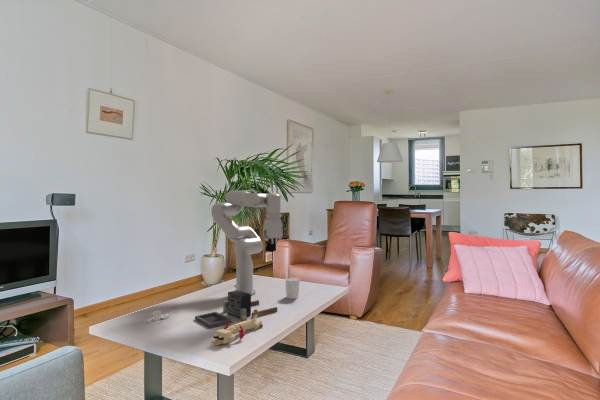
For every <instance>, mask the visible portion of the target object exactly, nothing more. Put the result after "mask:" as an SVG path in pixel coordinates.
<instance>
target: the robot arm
mask: <svg viewBox="0 0 600 400" xmlns="http://www.w3.org/2000/svg"><path fill="white" fill-rule="evenodd" d="M224 197H225V198H224V199H225V201H226V202H217V203H214V204H213V205H212V207H211V211H210V213H211V217H212V220H213V221H214V222H215V224H216V225H217V226H218V228H220V230H222V232H223V233H224V234H225V235H226V237H227V238H228V240H229V241H230V242H232V243H235V244H234V252H235V263H236V265H235V266H236V271H235V272H236V273H235V274H236V278H235V283H236V284H234V288H235V289H234V291H237V290H239V291H242V292H246V293H249V294H251V296H253V295H255V294H256V290H255V289H254V283H253V282H254V263H253V262H254V261H253V259H252V256H251V255H256V254H259V253H261V252H262V251H263V249H264V244H263V241H262V239H261V238H260V236H259V235H258V234H257V233H256V232H255V230H254V229H253V228H252V227H250V226H248V225H238V224H236V222H235V221H234V220H233V219H231V218H230V217H234V216H237V215H238V214H239V213H241V211H242V210H243V209H244V207H249V208H266V210H265V212H266V213H265V214H266V217H265V219H264V222H263V229H262V237H263V240H264V241H267V243H269V251H270V252H276V249H277V244H278V242H279V241H280V240H282V237H283V223H282V219H281V218H282V214H281V199H282V198H281V195H280V194H278V193H258V192H256V193H255V192H253V193H250V192H249V191H248V190H246V191H245V190H229V191H228V192H226V194H225V196H224Z"/></svg>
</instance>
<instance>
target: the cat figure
mask: <svg viewBox="0 0 600 400" xmlns="http://www.w3.org/2000/svg"><path fill="white" fill-rule="evenodd" d="M258 311H259V310H258V309H256V308H255V309H253V313H255V315H254V317H253V318H252V319H249V320H245V321H241V322H237V323H234V324H233V325H231V326H230V324H232V323H233V322H230V323H228V324H225V325H226V326H225V325H224V326H225V327H224V328H221V329H218V330H216V331H215V333H214V335H212V337H213V339H214V340H213V341H212V343H214V344H215V345H216V346H219V345H222V344H223V345H225V344H230V343H232V342H234V341H235V339H236V335H237V334H239V340H243V338H244V337H245V332H244V331H245V330H247V331H248V330H252V329H258V328H259V329H260V328H263V327H264V324H263V321H262V320H259V321H258V322H257V319H258V315H259V313H258Z"/></svg>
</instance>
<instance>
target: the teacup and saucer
mask: <svg viewBox="0 0 600 400" xmlns="http://www.w3.org/2000/svg"><path fill="white" fill-rule="evenodd" d="M152 315H153V317H152ZM169 317H170V314H169V313H165V314H162V311H161V310H155V311H153V312H151V315H150V318H148V319H147V322H148V323H153V324H155V323H156V324H158V323H162V322H165V321H166V320H167V319H168V318H169ZM152 320H153V321H152Z"/></svg>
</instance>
